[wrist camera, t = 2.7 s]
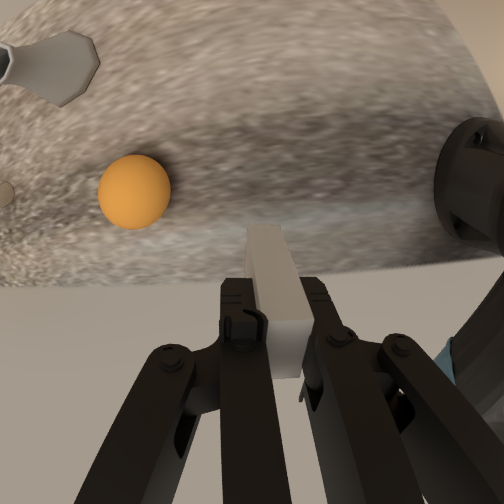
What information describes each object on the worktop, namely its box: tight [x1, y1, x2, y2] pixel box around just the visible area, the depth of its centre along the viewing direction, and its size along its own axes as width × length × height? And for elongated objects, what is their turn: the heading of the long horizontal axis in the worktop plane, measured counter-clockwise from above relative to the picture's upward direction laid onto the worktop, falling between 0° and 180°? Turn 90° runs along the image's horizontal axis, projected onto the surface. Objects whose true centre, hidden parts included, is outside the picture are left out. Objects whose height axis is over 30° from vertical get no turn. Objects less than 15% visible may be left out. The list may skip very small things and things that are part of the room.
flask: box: [0, 30, 100, 108], centre depth 15 cm, size 7×7×10 cm
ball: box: [98, 155, 171, 229], centre depth 22 cm, size 6×6×6 cm
